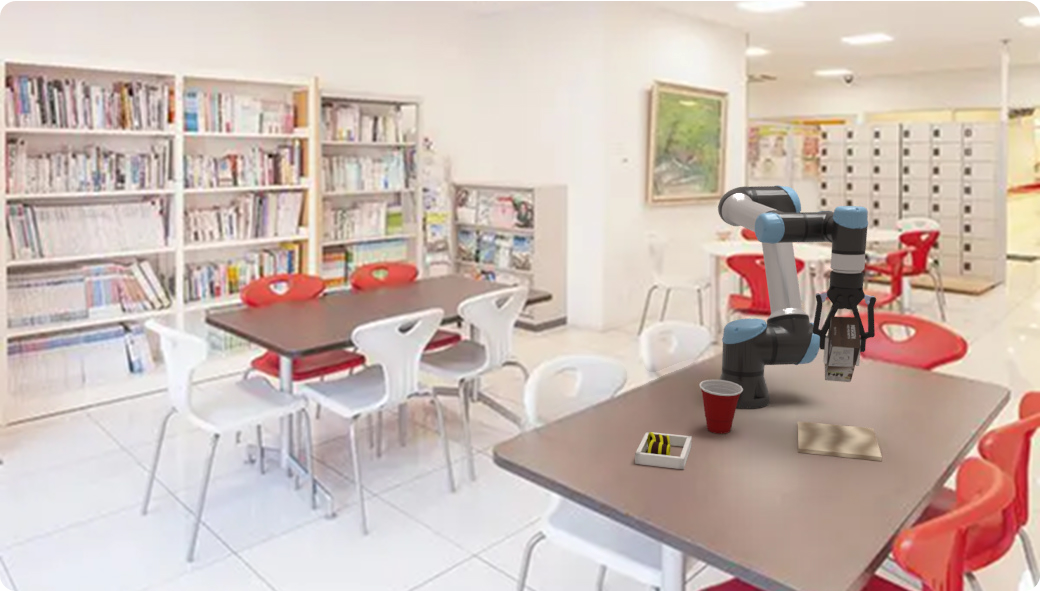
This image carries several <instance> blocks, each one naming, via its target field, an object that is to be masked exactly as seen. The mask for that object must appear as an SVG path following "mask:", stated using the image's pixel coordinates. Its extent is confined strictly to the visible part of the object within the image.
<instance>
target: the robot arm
mask: <svg viewBox="0 0 1040 591" xmlns="http://www.w3.org/2000/svg"><path fill="white" fill-rule="evenodd" d="M717 206H718V207H717V211H718V216H719V217H720V219H721V220H722V221H723V222H724V223H726V224H728V225H729V226H731V227H732V226H733V227H742V228H745V229H747V230H749V231H751V232H753V233H754V235H755V237H756V239H757V241H758V242H760V243H761V248H762V253H763V254H762V255H763V262H764V271H765V276H766V277H765V278H766V284H767V291H768V301H769V307H770V315H769V316H768V318H766V321H765V320H764V319H762V318H741V319H737V320H736V319H735V320H733V321H730V322H728V323H726V324H725V326H724V328H723V333H722V334H723V336H722V339H721V341H722V352H721V353H722V355H721V356H722V357H721V358H722V359H721V361H722V362H721V374H720V377H719V379H718V380H725V381H730V382H733V383H736V384H738V385H740V386H741V387H742V388H743V391H742V392H741V394H740V396H739V399H738V401H737V406H736V409H758V408H763V407H766V406H768V405H769V404H770V392H769V389H768V386H767V382H766V379H765V366H781V365H783V366H784V365H785V366H786V365H795V366H798V365H805V364H810V363H812V362H813V361H814V360H815V359H816V358H817V355H818V354H819V351H820V350H823V360H822V362H823V364H824V365H825V364H827V358H828V342H829V337H828V336H827V335H828V330H829V327H830V322H831V316H835V317H836V314H837V313H838V310H845V309H846V310H851V311H852V314H853V317H858V318H859V332H860V345H861V348H860V351H859V354H858V358H857V361H856V365H855V367H856V366H857V367H860V359H861V358H860V357H861V353H865V352H866V343H867V340H868V339H869V338H870V339H871V338H874V337H875V335H876V334H875V331H876V330H875V306H876V302H877V298H876V296H875V295H869V294H865V291H864V280H865V273H864V272H863V271H864V270H865V264H866V250H867V249H866V247H867V236H868V225H869V221H868V214H869V211H868V209H867V208H866V207H864V206H860V205H859V206H857V205H839V206H836V207H835V208H834V211H831V210H820V211H815V212H814V211H813V212H811V211H810V212H809V211H808V212H807V211H806V212H802V204H801V200H800V196H799V194H798V193H797V191H796V190H795V189H793V188H792V187H790V186H786V185H785V186H783V185H771V186H770V185H767V186H766V185H765V186H761V185H760V186H739V187H735V188H732V189H730V190H728V191H726V193H724V194H723V195H722V197H721V198H720V200H719V202H718V205H717ZM794 243H831V254H830V257H831V258H830V269H831V271H830V272H829V287H828V290H827V291H826V292H823V293H819V292H817V293H815V301H816V306H815V313H814V317H813V318H814V319H813V322H810V316H809V314H808V313H806V312H805V311H804V310H803V307H802V306H803V305H802V300H801V293H800V286H799V279H798V272H797V266H796V265H797V263H796V259H795V252H794V251H795V250H794V245H793V244H794ZM827 298H828V300H829V301H830V302H831V304H832V305H831V307H830V309H829V312H828V314H827V315H826V316H827V317H826V319H825V320H824V323H823V325H822V327H821V329H820V323H821V316H822V310H823V303H825V302H826V300H827ZM863 300H864V303H865V304H866V305H867V306H866V308H867V331H866V332H865V328H864V325H863V322H862V321H863V320H862V319H861V315H860V312H859V308H858V305H859V304H860V303H862V301H863Z"/></svg>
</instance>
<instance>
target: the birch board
mask: <svg viewBox="0 0 1040 591" xmlns="http://www.w3.org/2000/svg"><path fill="white" fill-rule="evenodd" d="M797 449H798V450H797V452H798V453H801V454H813V455H820V456H829V457H839V458H846V459H847V458H848V459H859V460H869V461H877V462H882V460H883V456H882V452H881V449H880V447H879V443H878V440H877V436H876V433H875V430H874V428H873V427H872V428H871V427H863V426H854V425H840V424H831V423H830V424H828V423H821V422H820V423H818V422H810V421H797Z"/></svg>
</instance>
